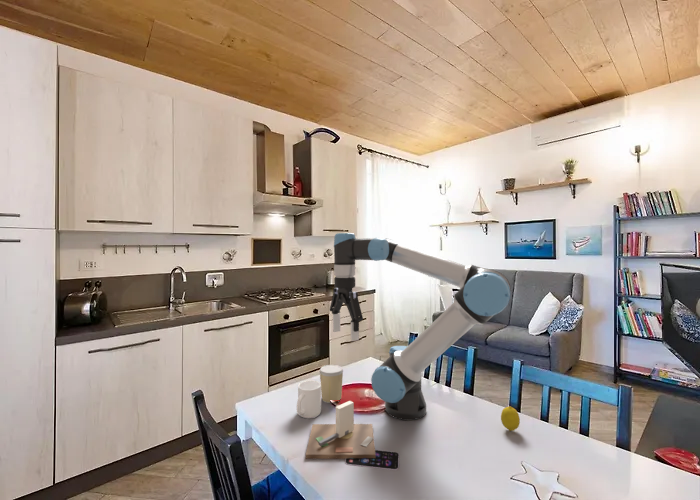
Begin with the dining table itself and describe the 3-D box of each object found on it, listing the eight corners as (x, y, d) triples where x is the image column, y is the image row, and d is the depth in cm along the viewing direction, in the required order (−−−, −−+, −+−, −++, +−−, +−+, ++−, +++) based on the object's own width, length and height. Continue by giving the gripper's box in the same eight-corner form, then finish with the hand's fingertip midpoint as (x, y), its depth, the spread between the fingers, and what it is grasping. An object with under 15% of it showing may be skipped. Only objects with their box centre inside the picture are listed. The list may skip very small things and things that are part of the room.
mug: (307, 426, 111) (307, 396, 111) (287, 420, 115) (287, 391, 115) (325, 410, 122) (325, 382, 122) (306, 405, 126) (306, 378, 126)
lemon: (519, 428, 109) (519, 404, 109) (520, 437, 104) (520, 412, 104) (500, 424, 112) (500, 401, 111) (500, 433, 107) (500, 408, 106)
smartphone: (349, 447, 100) (399, 452, 97) (349, 448, 100) (399, 454, 97) (344, 463, 92) (398, 469, 89) (344, 465, 92) (398, 471, 89)
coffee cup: (329, 391, 138) (329, 362, 138) (347, 397, 133) (347, 367, 132) (314, 399, 130) (314, 369, 130) (333, 406, 125) (333, 375, 125)
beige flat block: (354, 430, 106) (354, 402, 105) (322, 447, 97) (321, 417, 97) (349, 427, 107) (349, 400, 107) (317, 444, 99) (316, 414, 98)
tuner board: (372, 427, 110) (372, 423, 110) (375, 458, 94) (375, 453, 94) (312, 427, 111) (312, 423, 111) (305, 458, 95) (305, 453, 95)
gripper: (372, 278, 109) (373, 343, 109) (338, 273, 130) (338, 326, 131) (353, 280, 105) (353, 346, 105) (320, 274, 127) (321, 329, 127)
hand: (345, 335), depth 118 cm, fingers open, 13 cm apart
